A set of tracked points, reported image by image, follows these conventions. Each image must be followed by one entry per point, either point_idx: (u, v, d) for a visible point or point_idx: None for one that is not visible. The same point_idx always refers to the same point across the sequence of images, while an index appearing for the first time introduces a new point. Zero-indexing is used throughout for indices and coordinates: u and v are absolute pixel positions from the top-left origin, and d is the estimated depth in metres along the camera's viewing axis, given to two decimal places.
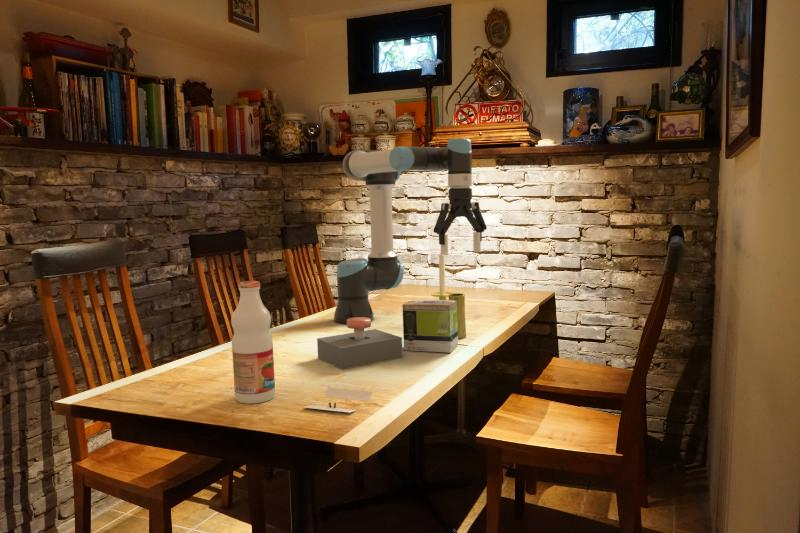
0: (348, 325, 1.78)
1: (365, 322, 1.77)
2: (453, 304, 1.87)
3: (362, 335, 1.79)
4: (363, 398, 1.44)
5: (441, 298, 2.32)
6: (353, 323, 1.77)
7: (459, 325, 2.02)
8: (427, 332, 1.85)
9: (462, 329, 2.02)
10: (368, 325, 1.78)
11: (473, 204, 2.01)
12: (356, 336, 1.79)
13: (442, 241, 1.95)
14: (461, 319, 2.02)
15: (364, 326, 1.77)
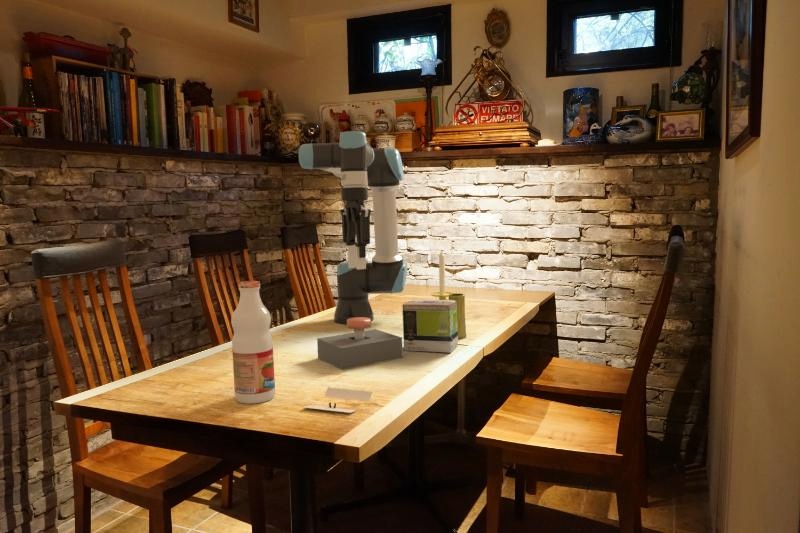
0: (348, 325, 1.78)
1: (365, 322, 1.77)
2: (453, 304, 1.87)
3: (362, 335, 1.79)
4: (363, 398, 1.44)
5: (441, 298, 2.32)
6: (353, 323, 1.77)
7: (459, 325, 2.02)
8: (427, 332, 1.85)
9: (462, 329, 2.02)
10: (368, 325, 1.78)
11: None
12: (356, 336, 1.79)
13: None
14: (461, 319, 2.02)
15: (364, 326, 1.77)
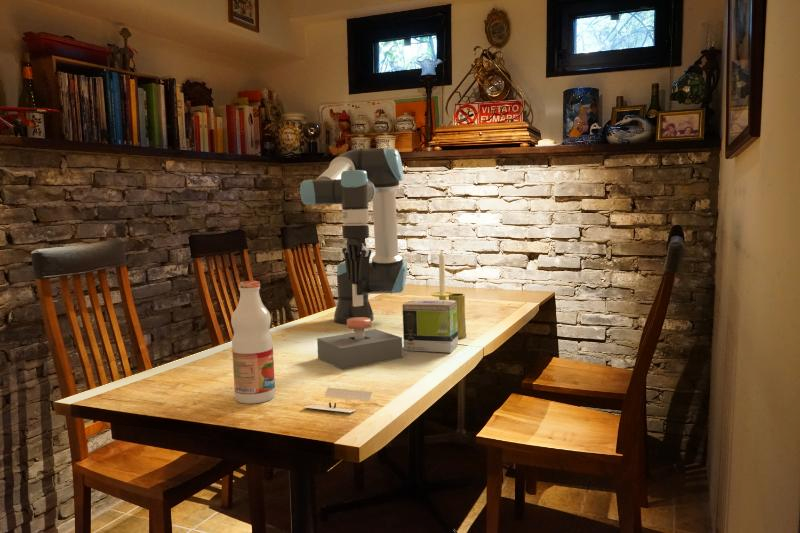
0: (348, 325, 1.78)
1: (365, 322, 1.77)
2: (453, 304, 1.87)
3: (362, 335, 1.79)
4: (363, 398, 1.44)
5: (441, 298, 2.32)
6: (353, 323, 1.77)
7: (459, 325, 2.02)
8: (427, 332, 1.85)
9: (462, 329, 2.02)
10: (368, 325, 1.78)
11: (363, 249, 1.73)
12: (356, 336, 1.79)
13: None
14: (461, 319, 2.02)
15: (364, 326, 1.77)
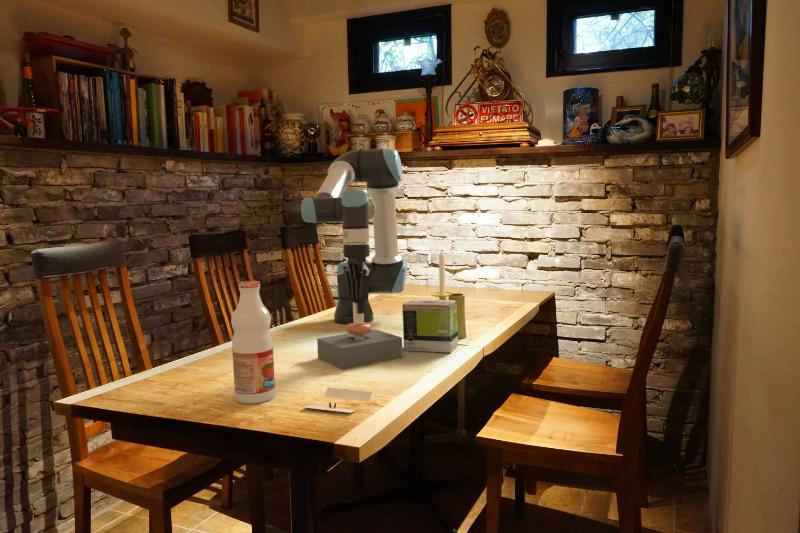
0: (348, 330, 1.78)
1: (365, 327, 1.77)
2: (453, 304, 1.87)
3: None
4: (363, 398, 1.44)
5: (441, 298, 2.32)
6: (353, 328, 1.77)
7: (459, 325, 2.02)
8: (427, 332, 1.85)
9: (462, 329, 2.02)
10: (368, 330, 1.78)
11: (364, 268, 1.74)
12: None
13: None
14: (461, 319, 2.02)
15: (364, 331, 1.77)
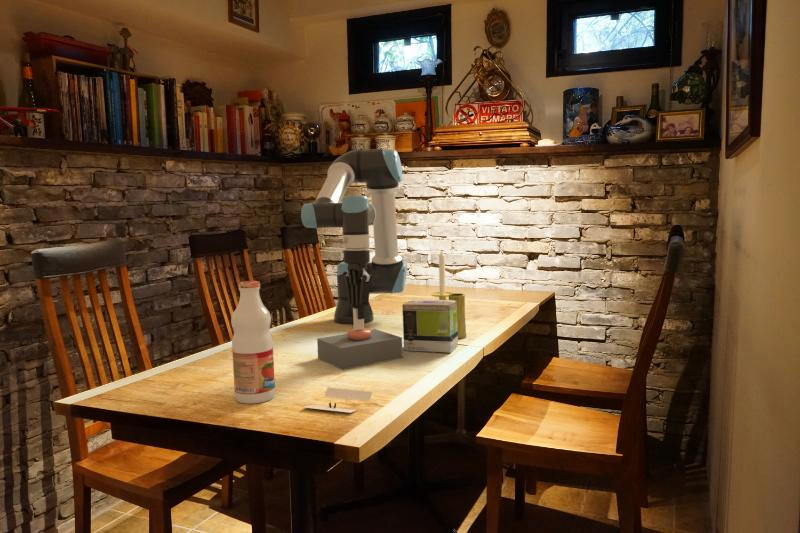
0: (348, 336, 1.78)
1: (365, 333, 1.77)
2: (453, 304, 1.87)
3: None
4: (363, 398, 1.44)
5: (441, 298, 2.32)
6: (353, 334, 1.77)
7: (459, 325, 2.02)
8: (427, 332, 1.85)
9: (462, 329, 2.02)
10: (368, 336, 1.78)
11: (364, 274, 1.74)
12: None
13: None
14: (461, 319, 2.02)
15: (364, 337, 1.77)
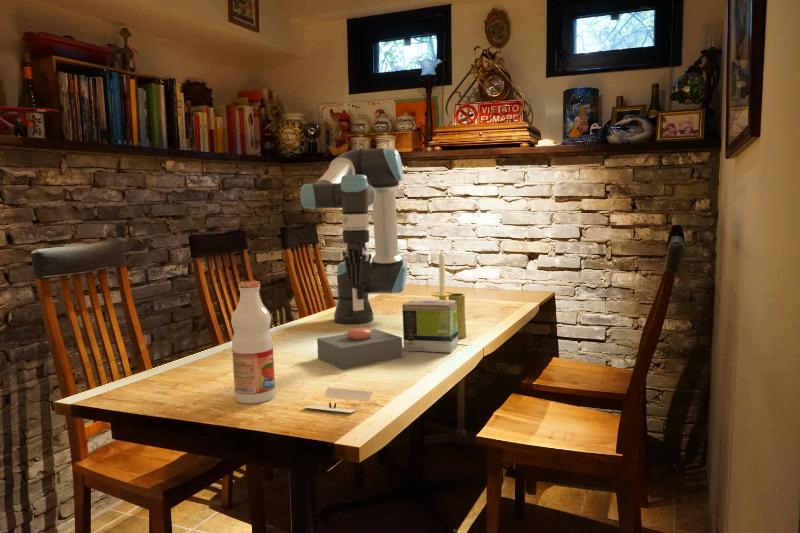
0: (348, 336, 1.78)
1: (365, 333, 1.77)
2: (453, 304, 1.87)
3: None
4: (363, 398, 1.44)
5: (441, 298, 2.32)
6: (353, 334, 1.77)
7: (459, 325, 2.02)
8: (427, 332, 1.85)
9: (462, 329, 2.02)
10: (368, 336, 1.78)
11: (363, 254, 1.73)
12: None
13: None
14: (461, 319, 2.02)
15: (364, 337, 1.77)
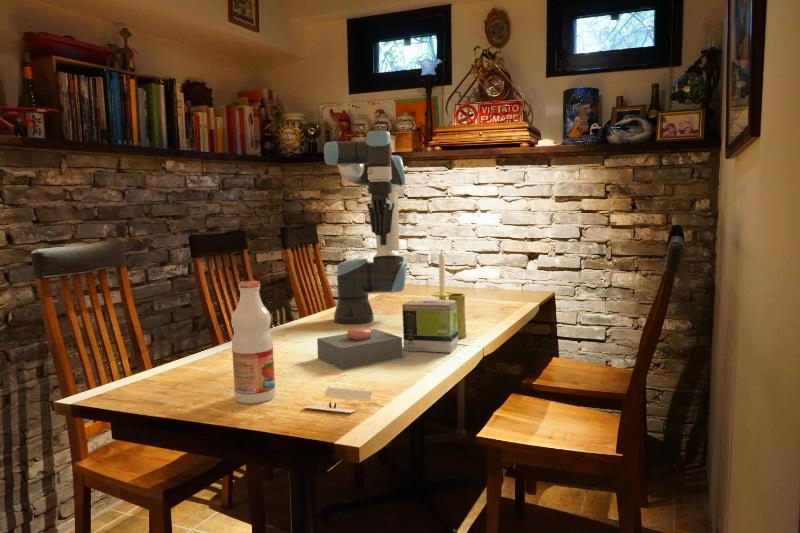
0: (348, 336, 1.78)
1: (365, 333, 1.77)
2: (453, 304, 1.87)
3: None
4: (363, 398, 1.44)
5: (441, 298, 2.32)
6: (353, 334, 1.77)
7: (459, 325, 2.02)
8: (427, 332, 1.85)
9: (462, 329, 2.02)
10: (368, 336, 1.78)
11: (387, 203, 1.90)
12: None
13: (377, 241, 1.97)
14: (461, 319, 2.02)
15: (364, 337, 1.77)
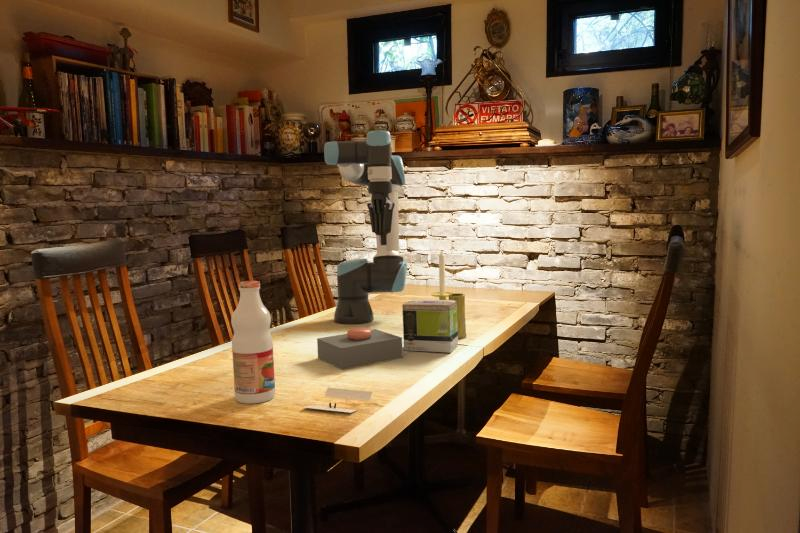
0: (348, 336, 1.78)
1: (365, 333, 1.77)
2: (453, 304, 1.87)
3: None
4: (363, 398, 1.44)
5: (441, 298, 2.32)
6: (353, 334, 1.77)
7: (459, 325, 2.02)
8: (427, 332, 1.85)
9: (462, 329, 2.02)
10: (368, 336, 1.78)
11: (387, 202, 1.90)
12: None
13: (377, 241, 1.97)
14: (461, 319, 2.02)
15: (364, 337, 1.77)
